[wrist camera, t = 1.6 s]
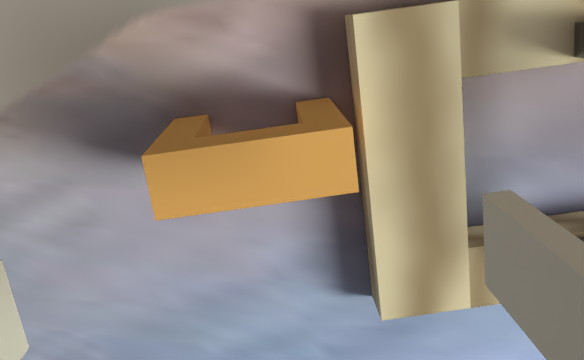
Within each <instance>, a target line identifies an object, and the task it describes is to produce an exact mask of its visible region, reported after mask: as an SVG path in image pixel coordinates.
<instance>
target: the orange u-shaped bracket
mask: <svg viewBox="0 0 584 360" xmlns="http://www.w3.org/2000/svg"><path fill="white" fill-rule="evenodd" d="M295 103H296V110H297V118H298V124H290V125H283V126H276V127H269V128H262V129H254V130H247V131H240V132H233V133H226V134H219V135H212V133H211V127H210V122H209V116H208V114H205V115H198V116H191V117H184V118H176V119H174V120H173V121H172V122H171V123H170V124H169V126H168V127H167V128H166V129H165V130H164V131H163V132H162V133H161V135H160V136H159V137H158V138H157V139H156V140H155V141H154V142H153V144H152V145H151V146H150V147H149V148H148V149H147V150H146V151H145V153H144V154H143V155H142V156H141V157H142V162H143V166H144V171H145V175H146V180H147V184H148V189H149V194H150V198H151V203H152V207H153V212H154V216H155V221H156V220H163V219H170V218H177V217H185V216H192V215H199V214H206V213H213V212H220V211H227V210H234V209H242V208H249V207H256V206H263V205H270V204H277V203H284V202H291V201H299V200H306V199H313V198H320V197H327V196H334V195H341V194H348V193H355V192H359V187H358V177H357V167H356V157H355V147H354V137H353V127H352V126H351V124H350V123H349V122H348V121H347V119H346V118H345V117H344V116H343V114H342V113H341V112H340V111H339V109H338V108H337V107H336V106H335V104H334V103H333V102H332V101H331V99H330V98H329V97H328V98H320V99H313V100H306V101H299V102H295Z"/></svg>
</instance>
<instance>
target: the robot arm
mask: <svg viewBox="0 0 584 360" xmlns="http://www.w3.org/2000/svg"><path fill="white" fill-rule="evenodd" d="M483 230H484V267H485V285H486V286H487V288H488V289H489V290H490V291H491V292H492V294H493V295H494V296H495V297H496V299H497V300H498V301H499V302H500V303H501V305H502V306H503V307H504V308H505V310H506V311H507V312H508V313H509V314H510V316H511V317H512V318H513V319H514V320H515V322H516V323H517V324H518V325H519V327H520V328H521V329H522V330H523V331H524V333H525V334H526V335H527V336H528V338H529V339H530V340H531V341H532V342H533V344H534V345H535V346H536V347H537V349H538V350H539V351H540V352H541V353H542V355H543V356H544V357H545V358H546V359H547V360H584V242H583V241H582V240H580V239H579V238H577V237H576V236H575V235H573V234H572V233H570V232H569V231H568V230H566V229H565V228H563V227H562V226H561V225H559V224H558V223H556V222H555V221H553V220H552V219H551V218H549V217H548V216H546V215H545V214H544V213H542V212H541V211H539V210H538V209H536V208H535V207H534V206H532V205H531V204H529V203H528V202H527V201H525V200H524V199H522V198H521V197H520V196H518V195H517V194H515V193H514V192H512V191H511V190H507V191H500V192H493V193H485V194H483ZM28 348H29V346H28V343H27V339H26V336H25V333H24V330H23V327H22V323H21V320H20V317H19V314H18V311H17V307H16V304H15V301H14V298H13V295H12V291H11V288H10V285H9V282H8V279H7V275H6V272H5V269H4V266H3V263H2V260H0V360H20V359H21V358H22V357H23V355H24V354H25V352H26V351H27V350H28Z"/></svg>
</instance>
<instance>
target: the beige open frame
mask: <svg viewBox="0 0 584 360" xmlns="http://www.w3.org/2000/svg"><path fill="white" fill-rule="evenodd" d="M581 21H584V0H451V1H444V2H437V3H429V4H422V5H415V6H408V7H400V8H393V9H386V10H379V11H371V12H364V13H357V14H350V15H345V24H346V34H347V45H348V55H349V65H350V75H351V85H352V95H353V105H354V115H355V126H356V136H357V146H358V156H359V166H360V176H361V186H362V196H363V207H364V217H365V227H366V237H367V247H368V257H369V267H370V277H371V288H372V297H373V299H374V302H375V305H376V307H377V310H378V312H379V315H380V318H381V320H389V319H396V318H403V317H410V316H417V315H424V314H431V313H438V312H445V311H452V310H459V309H466V308H473V307H480V306H487V305H495V304H501V303H500V302H499V301H498V300H497V299H496V297H495V296H494V295H493V294H492V292H491V291H490V290H489V289H488V288H487V286H486V285H485V267H484V230H483V225H478V226H471V227H467V202H466V177H465V152H464V127H463V101H462V78H467V77H475V76H482V75H489V74H496V73H503V72H511V71H518V70H525V69H532V68H539V67H547V66H554V65H561V64H568V63H575V62H583V61H584V58H577V57H574V26H575V22H581ZM548 217H549V218H551V219H552V220H553V221H555V222H556V223H558V224H559V225H561V226H562V227H563V228H565V229H566V230H568V231H569V232H570V233H572V234H573V235H575V236H576V237H584V211H577V212H570V213H563V214H556V215H549V216H548Z"/></svg>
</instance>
